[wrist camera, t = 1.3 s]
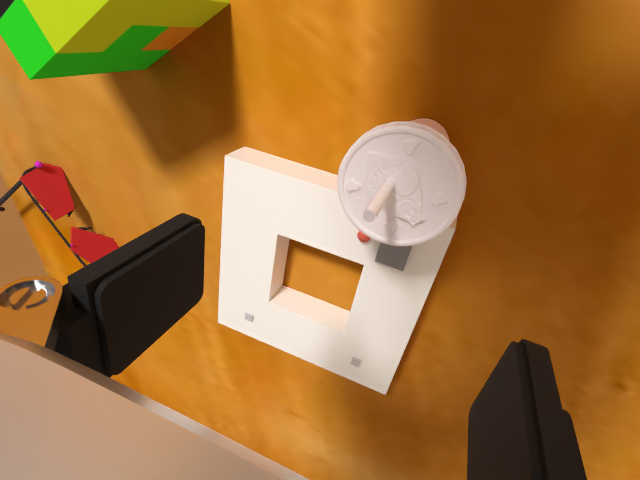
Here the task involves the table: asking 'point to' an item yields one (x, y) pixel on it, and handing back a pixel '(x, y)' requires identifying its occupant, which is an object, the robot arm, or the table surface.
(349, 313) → the socket plate
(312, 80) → the table surface
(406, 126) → the smoothie
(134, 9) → the puzzle toy
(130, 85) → the table surface
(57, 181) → the glasses
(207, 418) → the table surface
